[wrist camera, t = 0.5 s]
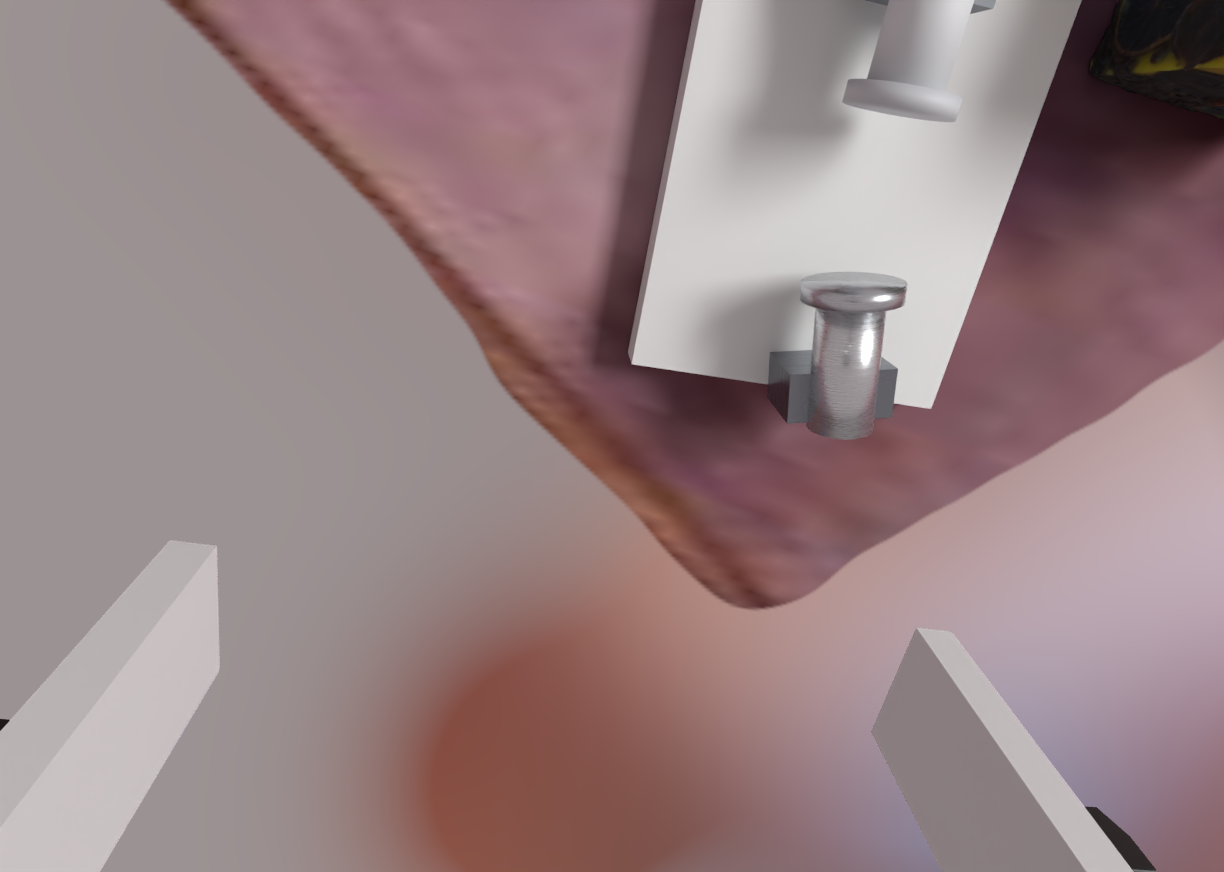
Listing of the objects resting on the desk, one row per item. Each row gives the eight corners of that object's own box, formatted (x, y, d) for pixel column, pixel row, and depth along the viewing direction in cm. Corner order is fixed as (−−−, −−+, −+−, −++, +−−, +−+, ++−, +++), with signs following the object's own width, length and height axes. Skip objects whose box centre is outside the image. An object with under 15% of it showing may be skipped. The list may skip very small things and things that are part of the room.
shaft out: (774, 269, 35) (812, 295, 30) (877, 264, 35) (933, 290, 30) (766, 402, 38) (801, 448, 33) (862, 397, 38) (911, 442, 33)
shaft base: (716, -107, 31) (764, -173, 24) (1063, -23, 33) (1202, -61, 26) (627, 352, 38) (644, 405, 31) (914, 395, 40) (990, 454, 33)
